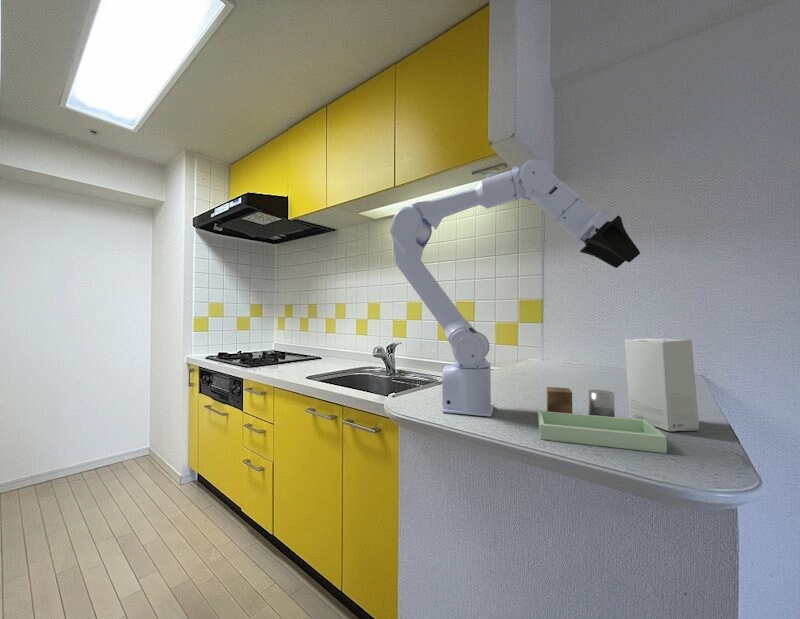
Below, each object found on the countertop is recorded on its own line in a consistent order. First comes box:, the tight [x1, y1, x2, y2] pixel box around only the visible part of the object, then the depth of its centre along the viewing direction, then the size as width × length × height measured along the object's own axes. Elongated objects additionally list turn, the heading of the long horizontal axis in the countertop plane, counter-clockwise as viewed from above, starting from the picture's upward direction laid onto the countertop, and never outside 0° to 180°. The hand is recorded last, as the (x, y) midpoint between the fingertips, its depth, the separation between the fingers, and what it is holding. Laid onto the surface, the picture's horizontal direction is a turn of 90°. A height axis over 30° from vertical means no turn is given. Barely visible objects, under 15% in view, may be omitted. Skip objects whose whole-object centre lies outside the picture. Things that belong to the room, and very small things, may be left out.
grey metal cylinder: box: [588, 389, 616, 417], centre depth 60 cm, size 4×4×5 cm
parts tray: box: [537, 410, 668, 454], centre depth 52 cm, size 16×8×2 cm, turn 70°
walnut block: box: [546, 386, 574, 414], centre depth 63 cm, size 4×4×5 cm
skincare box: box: [624, 337, 700, 432], centre depth 58 cm, size 8×6×15 cm
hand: (627, 261), depth 58 cm, fingers open, 7 cm apart
